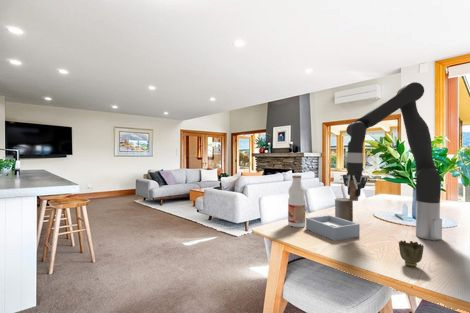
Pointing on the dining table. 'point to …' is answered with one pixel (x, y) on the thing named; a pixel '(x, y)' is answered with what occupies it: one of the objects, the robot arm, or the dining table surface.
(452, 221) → the dining table surface
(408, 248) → the mottled brown rounded lump
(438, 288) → the dining table surface
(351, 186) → the peg
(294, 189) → the fruit juice
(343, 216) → the pillar candle
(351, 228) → the box
